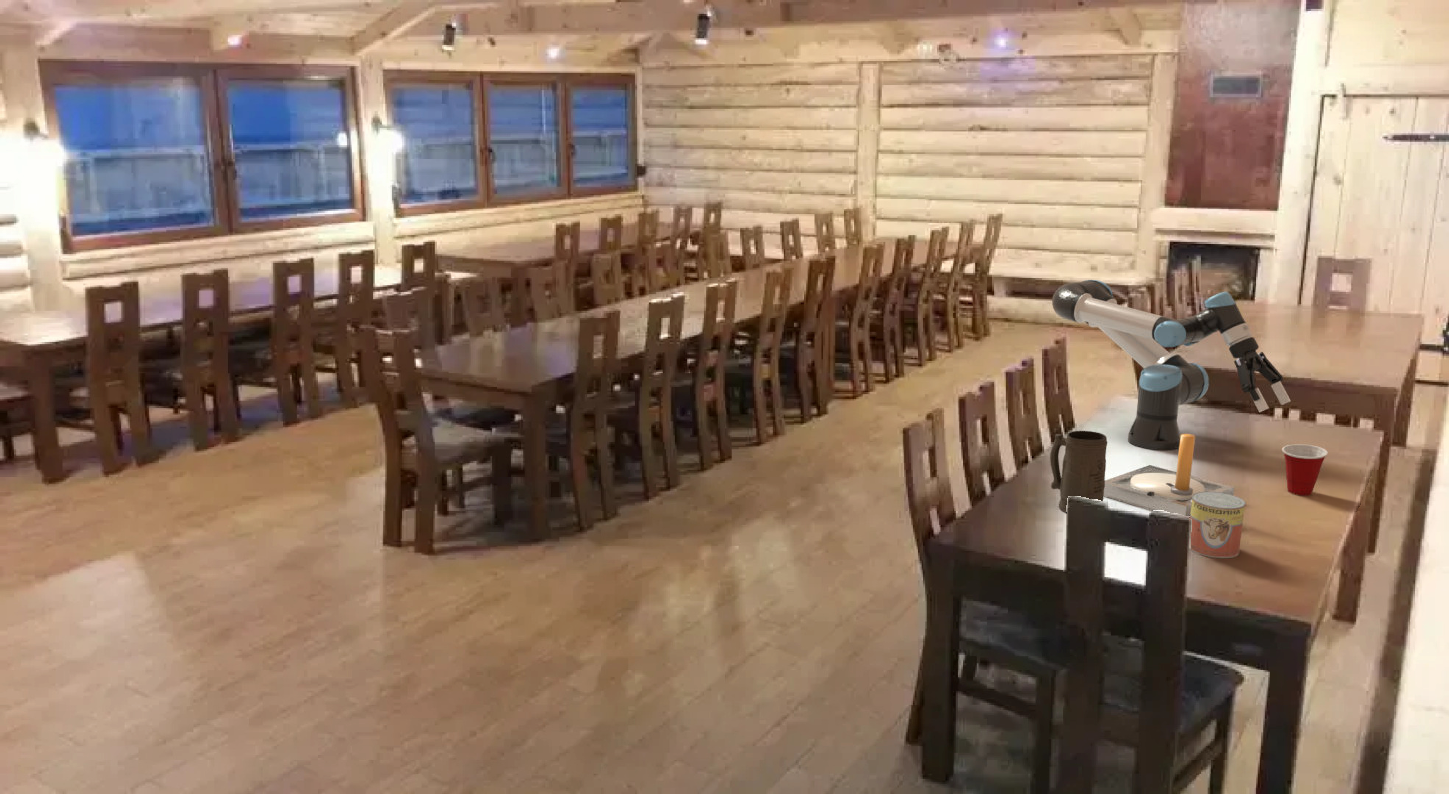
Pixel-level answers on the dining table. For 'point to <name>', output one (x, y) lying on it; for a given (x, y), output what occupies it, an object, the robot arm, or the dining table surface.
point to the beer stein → (1079, 465)
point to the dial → (1172, 476)
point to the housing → (1124, 492)
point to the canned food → (1216, 524)
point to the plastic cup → (1302, 467)
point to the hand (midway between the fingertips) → (1275, 406)
